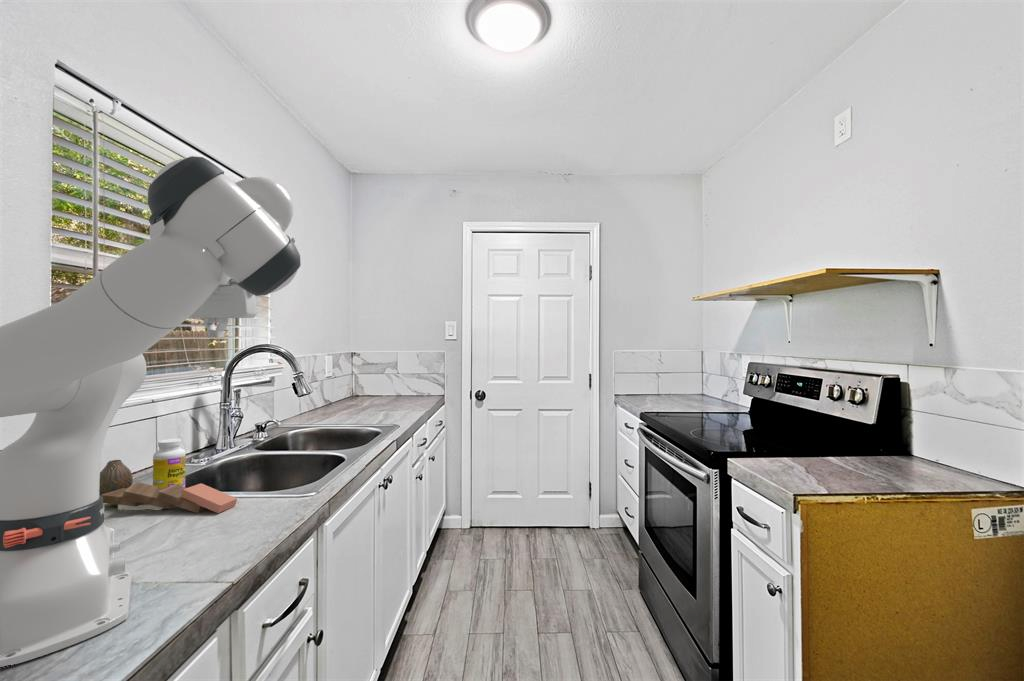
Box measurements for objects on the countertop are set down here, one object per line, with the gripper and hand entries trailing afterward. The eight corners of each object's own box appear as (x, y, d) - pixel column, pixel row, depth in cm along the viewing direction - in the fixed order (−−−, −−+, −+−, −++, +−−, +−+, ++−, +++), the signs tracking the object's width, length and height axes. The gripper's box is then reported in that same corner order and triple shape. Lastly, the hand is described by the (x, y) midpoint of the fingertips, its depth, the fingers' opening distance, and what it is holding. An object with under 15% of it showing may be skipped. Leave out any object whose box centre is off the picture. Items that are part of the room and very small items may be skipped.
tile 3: (183, 492, 107) (135, 481, 104) (175, 502, 102) (124, 491, 99) (180, 499, 107) (132, 488, 104) (172, 509, 102) (121, 498, 99)
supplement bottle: (166, 496, 112) (166, 444, 112) (146, 493, 114) (146, 442, 114) (191, 487, 118) (191, 438, 118) (172, 485, 120) (172, 437, 120)
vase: (113, 491, 115) (113, 457, 115) (140, 492, 115) (140, 457, 115) (87, 501, 108) (87, 464, 108) (115, 501, 108) (115, 464, 108)
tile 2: (215, 497, 106) (175, 484, 106) (200, 505, 101) (158, 491, 101) (213, 505, 106) (173, 491, 106) (197, 513, 101) (156, 499, 101)
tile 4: (157, 491, 107) (123, 488, 109) (135, 498, 102) (100, 494, 104) (157, 498, 107) (123, 495, 109) (135, 506, 102) (100, 502, 104)
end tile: (237, 498, 105) (201, 483, 106) (220, 505, 100) (182, 489, 101) (235, 505, 105) (198, 490, 106) (218, 513, 100) (180, 496, 101)
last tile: (178, 497, 108) (136, 497, 108) (162, 505, 103) (118, 504, 103) (178, 505, 108) (136, 504, 108) (162, 512, 103) (117, 512, 103)
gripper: (263, 280, 109) (263, 337, 109) (193, 282, 113) (193, 337, 113) (242, 276, 103) (242, 337, 103) (169, 279, 107) (169, 337, 107)
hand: (215, 337), depth 108 cm, fingers closed
